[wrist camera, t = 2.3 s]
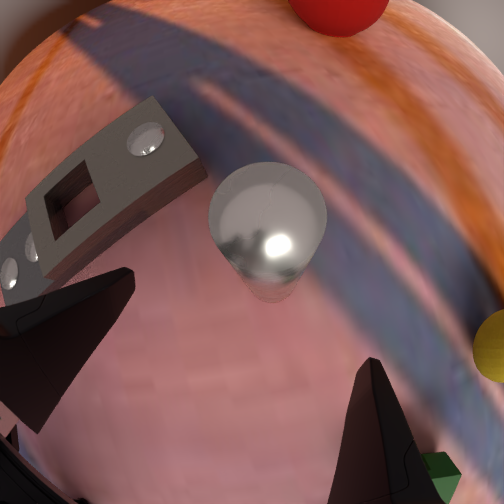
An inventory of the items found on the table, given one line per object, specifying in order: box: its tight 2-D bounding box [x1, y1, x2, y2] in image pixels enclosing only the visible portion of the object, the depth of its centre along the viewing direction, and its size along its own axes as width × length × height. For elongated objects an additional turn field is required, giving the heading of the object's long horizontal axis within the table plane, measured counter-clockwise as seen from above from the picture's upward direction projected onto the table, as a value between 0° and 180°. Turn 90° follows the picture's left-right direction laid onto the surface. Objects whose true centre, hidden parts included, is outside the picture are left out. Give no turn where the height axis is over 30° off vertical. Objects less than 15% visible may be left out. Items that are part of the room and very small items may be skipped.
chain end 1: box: [25, 95, 207, 280], centre depth 21 cm, size 16×9×3 cm, turn 124°
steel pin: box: [208, 162, 327, 303], centre depth 14 cm, size 3×3×12 cm
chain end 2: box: [0, 171, 150, 306], centre depth 21 cm, size 18×9×2 cm, turn 124°
